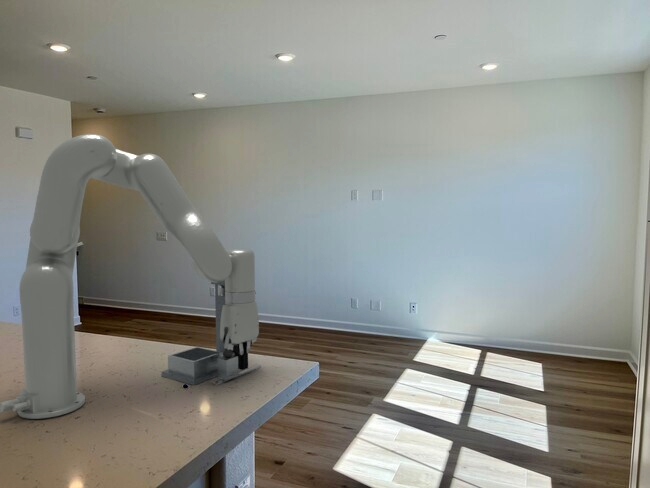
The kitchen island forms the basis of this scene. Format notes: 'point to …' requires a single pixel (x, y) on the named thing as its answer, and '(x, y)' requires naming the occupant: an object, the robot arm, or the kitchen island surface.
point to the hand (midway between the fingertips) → (241, 368)
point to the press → (201, 354)
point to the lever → (227, 365)
